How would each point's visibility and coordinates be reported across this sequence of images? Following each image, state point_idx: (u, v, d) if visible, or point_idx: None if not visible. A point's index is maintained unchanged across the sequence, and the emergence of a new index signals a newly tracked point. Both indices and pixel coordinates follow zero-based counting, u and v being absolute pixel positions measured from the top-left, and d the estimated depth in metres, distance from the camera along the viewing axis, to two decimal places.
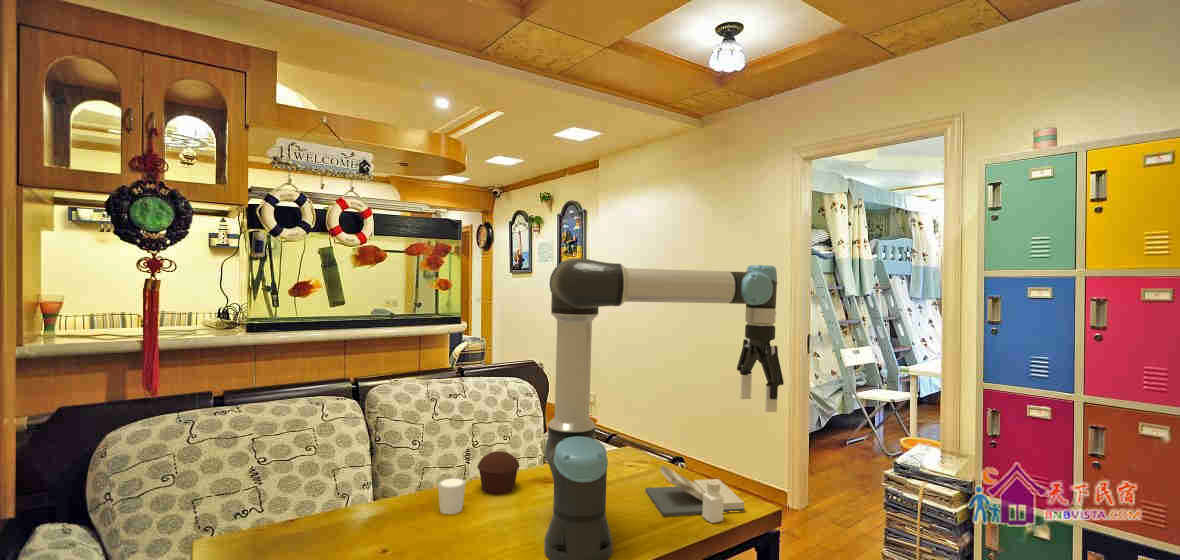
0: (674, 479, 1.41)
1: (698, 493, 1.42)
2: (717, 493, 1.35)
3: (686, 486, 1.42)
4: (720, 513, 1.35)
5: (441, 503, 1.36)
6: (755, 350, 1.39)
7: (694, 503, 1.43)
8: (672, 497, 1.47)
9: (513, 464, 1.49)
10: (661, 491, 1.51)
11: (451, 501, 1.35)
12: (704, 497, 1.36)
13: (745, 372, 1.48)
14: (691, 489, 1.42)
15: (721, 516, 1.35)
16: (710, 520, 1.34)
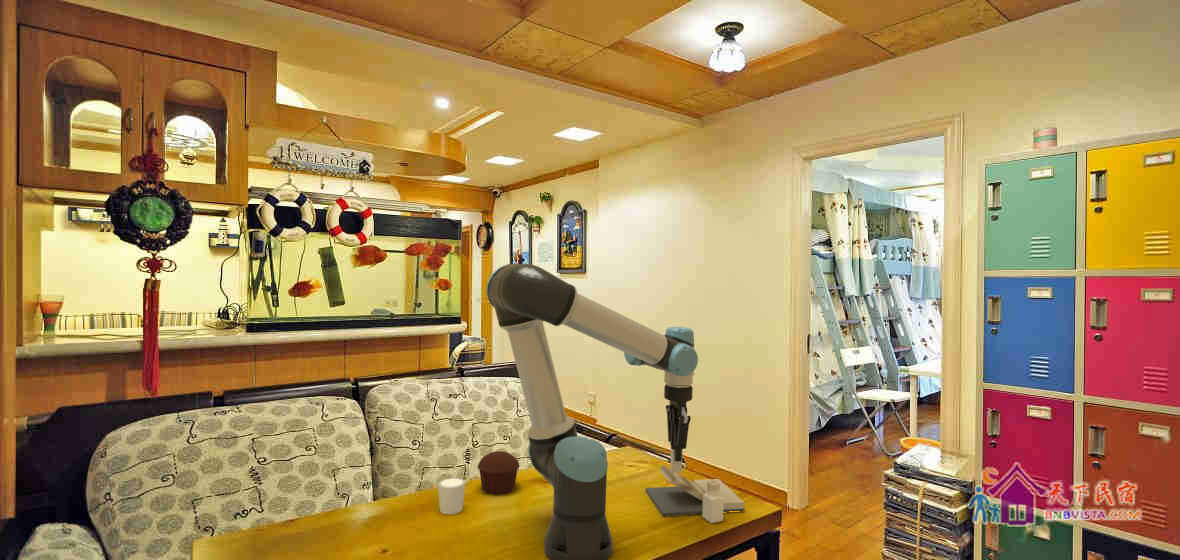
0: (674, 479, 1.41)
1: (698, 493, 1.42)
2: (717, 493, 1.35)
3: (686, 486, 1.42)
4: (720, 513, 1.35)
5: (441, 503, 1.36)
6: (672, 411, 1.44)
7: (694, 503, 1.43)
8: (672, 497, 1.47)
9: (513, 464, 1.49)
10: (661, 491, 1.51)
11: (451, 501, 1.35)
12: (704, 497, 1.36)
13: None
14: (691, 489, 1.42)
15: (721, 516, 1.35)
16: (710, 520, 1.34)
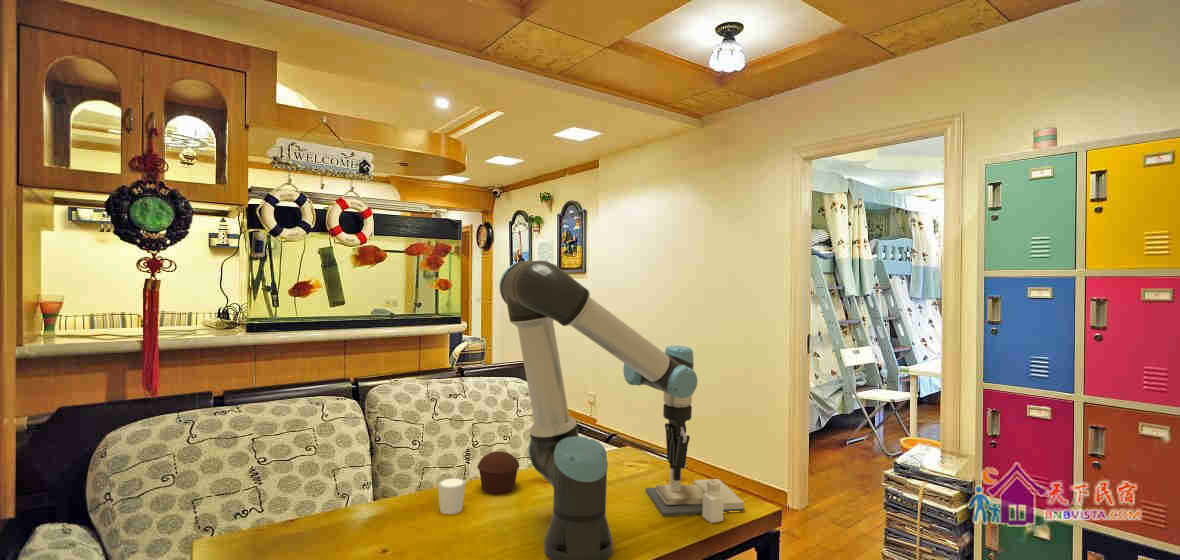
0: (668, 499, 1.41)
1: (697, 499, 1.42)
2: (717, 493, 1.35)
3: (683, 499, 1.42)
4: (720, 513, 1.35)
5: (441, 503, 1.36)
6: (671, 430, 1.44)
7: None
8: None
9: (513, 464, 1.49)
10: None
11: (451, 501, 1.35)
12: (704, 497, 1.36)
13: None
14: (689, 499, 1.42)
15: (721, 516, 1.35)
16: (710, 520, 1.34)
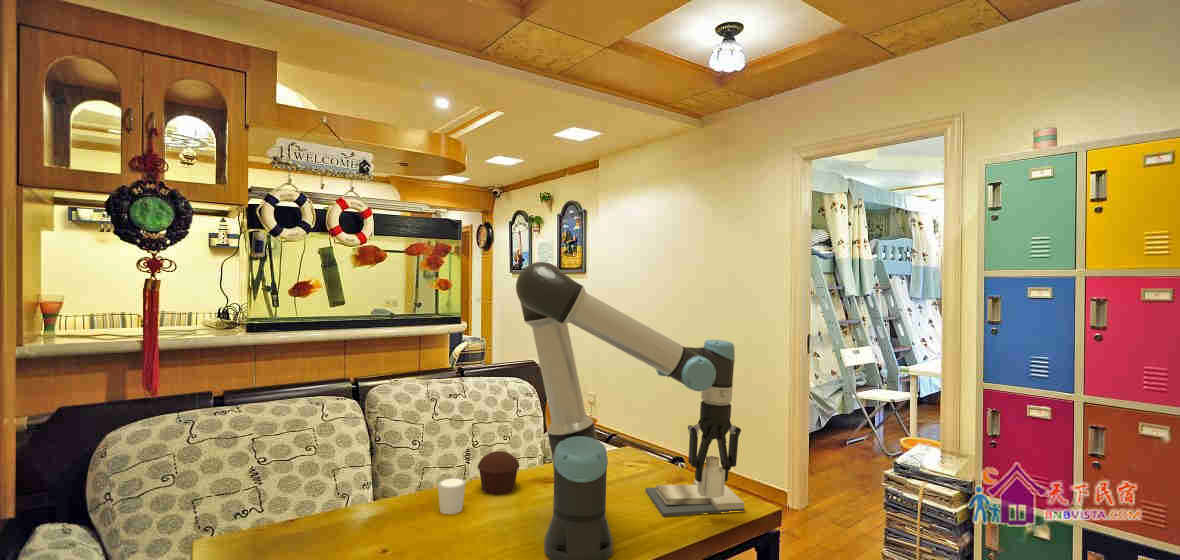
0: (668, 499, 1.41)
1: (697, 499, 1.42)
2: (716, 468, 1.35)
3: (683, 499, 1.42)
4: (718, 488, 1.35)
5: (441, 503, 1.36)
6: None
7: None
8: None
9: (513, 464, 1.49)
10: None
11: (451, 501, 1.35)
12: None
13: (722, 465, 1.37)
14: (689, 499, 1.42)
15: (719, 491, 1.35)
16: (708, 495, 1.34)
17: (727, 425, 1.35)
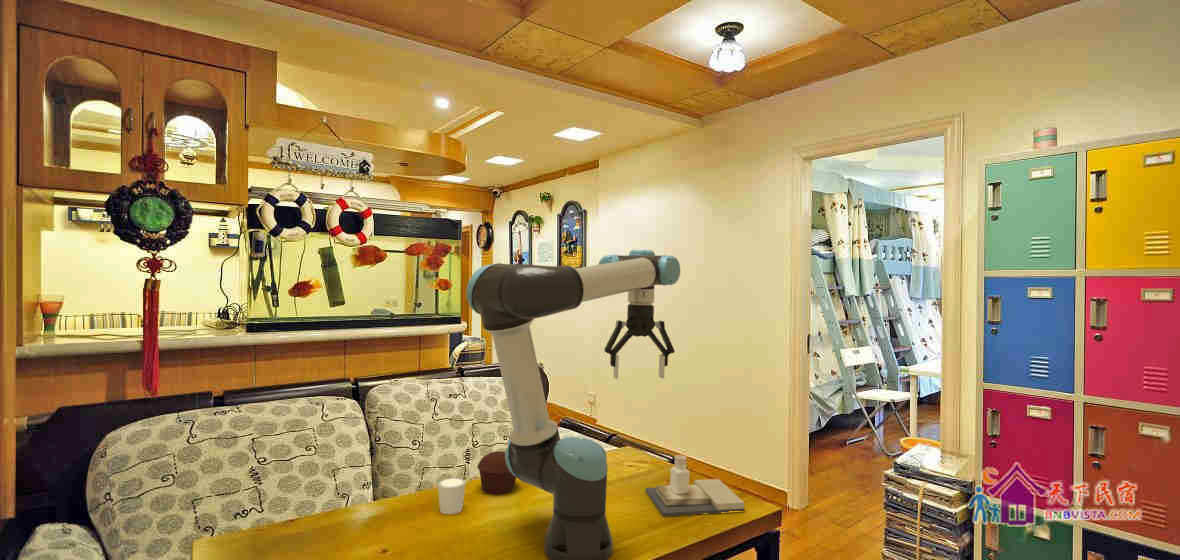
0: (668, 500, 1.41)
1: (697, 500, 1.42)
2: (684, 467, 1.45)
3: (683, 500, 1.42)
4: (686, 485, 1.45)
5: (441, 503, 1.36)
6: None
7: None
8: None
9: None
10: None
11: (451, 501, 1.35)
12: (671, 470, 1.46)
13: (663, 352, 1.56)
14: (689, 500, 1.42)
15: (687, 488, 1.45)
16: (676, 491, 1.44)
17: (651, 324, 1.54)
